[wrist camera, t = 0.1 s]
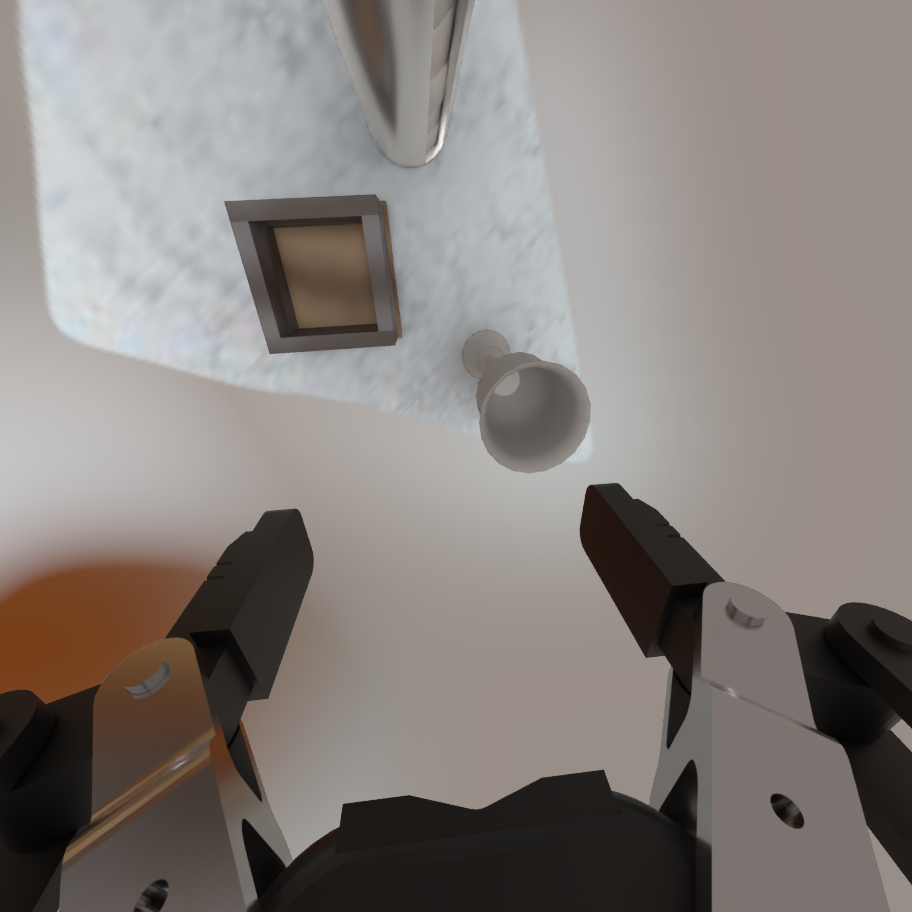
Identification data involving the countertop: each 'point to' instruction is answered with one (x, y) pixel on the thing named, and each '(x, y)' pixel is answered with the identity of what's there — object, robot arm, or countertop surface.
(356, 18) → the silver metal cylinder
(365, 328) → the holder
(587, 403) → the chalice
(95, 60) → the countertop surface
